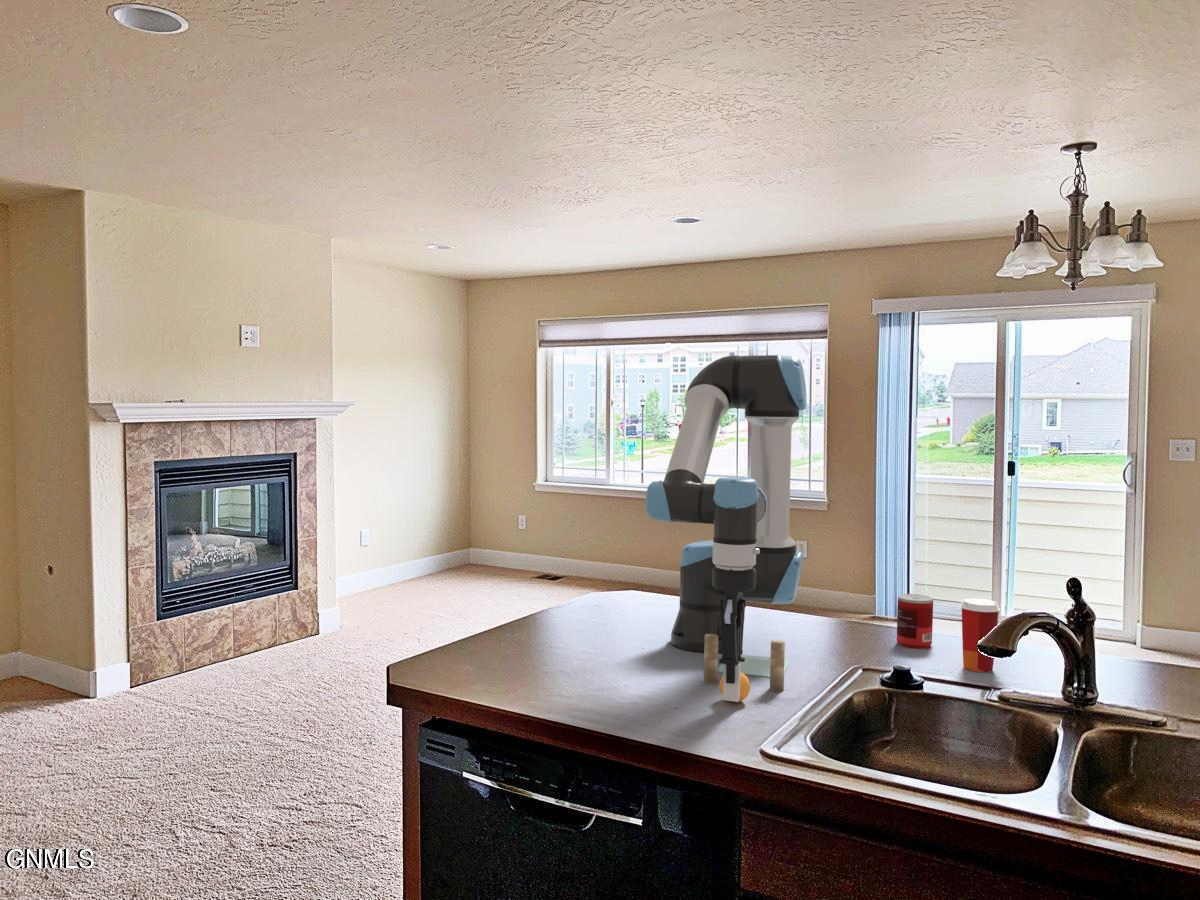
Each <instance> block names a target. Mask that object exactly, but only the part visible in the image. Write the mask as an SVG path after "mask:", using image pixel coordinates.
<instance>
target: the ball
mask: <svg viewBox="0 0 1200 900" xmlns="http://www.w3.org/2000/svg"><path fill="white" fill-rule="evenodd" d="M718 685H719V686H718V687H719V692H720V694H721V696H722V697H723V675H722V676H721V678H720V680H719V684H718ZM750 690H751V683H750V679H749V678H748V677H747V675H745V674H743V673H742V672H740V699H739V701H738V702H737V703H740V702H742V701H744V700H745V699H746V698H747V697H748V696H749V694H750ZM730 703H736V702H735V701H730Z"/></svg>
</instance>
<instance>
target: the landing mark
mask: <svg viewBox="0 0 1200 900" xmlns="http://www.w3.org/2000/svg"><path fill="white" fill-rule="evenodd" d="M741 657H744V658H745V661H744V662H740V661H739V663H740V672H742V673H743V674H744V675H746V676H756V677H757V676H758V677H763V678H764V677H765V678H767V677H768V678H770V658H765V657H757V656H756V657H755V656H745V655H741ZM789 663H790V660H786V659H784V674H785V672H786V670H787V668H788V665H789ZM718 672H719V673H723V672H724V664H719V665H718ZM718 672H717V673H718Z"/></svg>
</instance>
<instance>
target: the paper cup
mask: <svg viewBox="0 0 1200 900" xmlns="http://www.w3.org/2000/svg"><path fill="white" fill-rule="evenodd" d="M960 603H961V604H960V605H959V606H958V607H959V608H961V636H962V637H961V638H962V663H963V669H965V670H967V671H970V672H976V673H991V672H993V671H994V670H993V669H994V661H995V657H994V658H991V657H988V656H985V655H983V654H981V653H980V652H979V651H978V648H977V644H978V641H979V640H981V639H982V638H983V637H985V636H986V635H987V634H988V633H989V632H990V631H991V630H992V629H993V628H994V627H995V626H997V627H998V623H999V622H998V619H999V612H1000V611H1001V609H1000V607H999V604H998V602H997V601H994V600H990V599H983V598H965V599H963V600H962V601H961V602H960ZM990 671H991V672H990Z"/></svg>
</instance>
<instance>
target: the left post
mask: <svg viewBox="0 0 1200 900" xmlns="http://www.w3.org/2000/svg"><path fill="white" fill-rule="evenodd" d="M703 653H704V657H703V682H704V684H708V685H713V684H717V683H718V668H719V665H718V664H719V652H718V635H716V634H706V635H705V648H704V652H703Z"/></svg>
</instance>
